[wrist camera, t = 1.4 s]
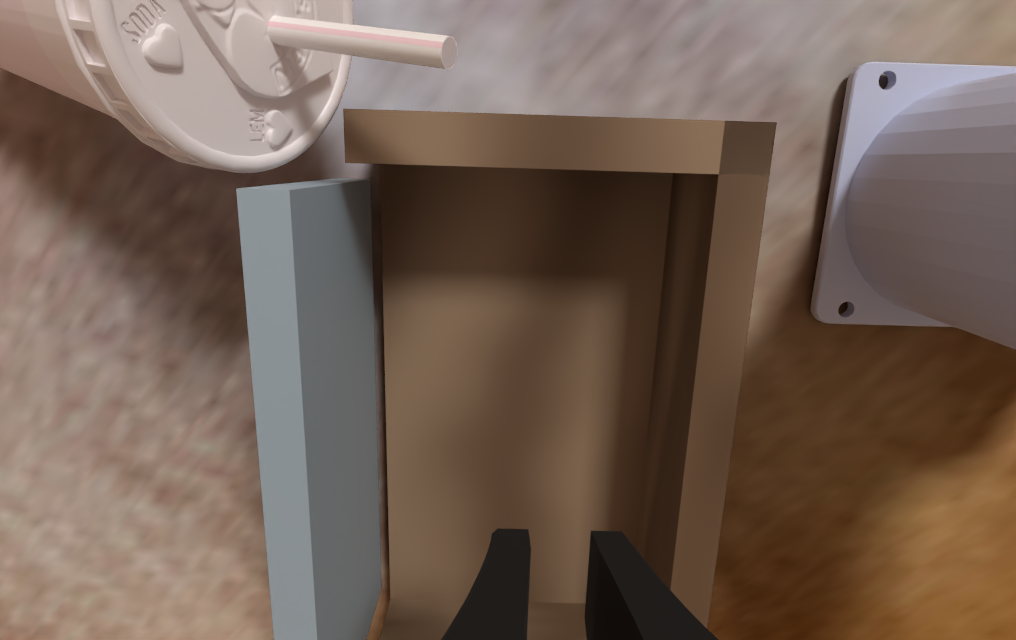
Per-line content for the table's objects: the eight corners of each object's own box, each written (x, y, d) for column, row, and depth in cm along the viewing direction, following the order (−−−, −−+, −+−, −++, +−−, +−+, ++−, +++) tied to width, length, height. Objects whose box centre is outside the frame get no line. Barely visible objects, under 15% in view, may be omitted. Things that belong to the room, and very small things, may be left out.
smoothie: (75, 145, 19) (461, 251, 13) (-237, 37, 13) (238, 150, 7) (132, -55, 19) (545, -29, 13) (-157, -259, 13) (384, -356, 7)
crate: (706, 132, 19) (776, 122, 14) (654, 612, 23) (693, 731, 18) (385, 122, 19) (343, 108, 14) (395, 607, 23) (366, 724, 18)
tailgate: (370, 179, 18) (289, 190, 11) (381, 587, 22) (325, 779, 15) (337, 178, 18) (236, 188, 11) (353, 586, 22) (285, 778, 15)
